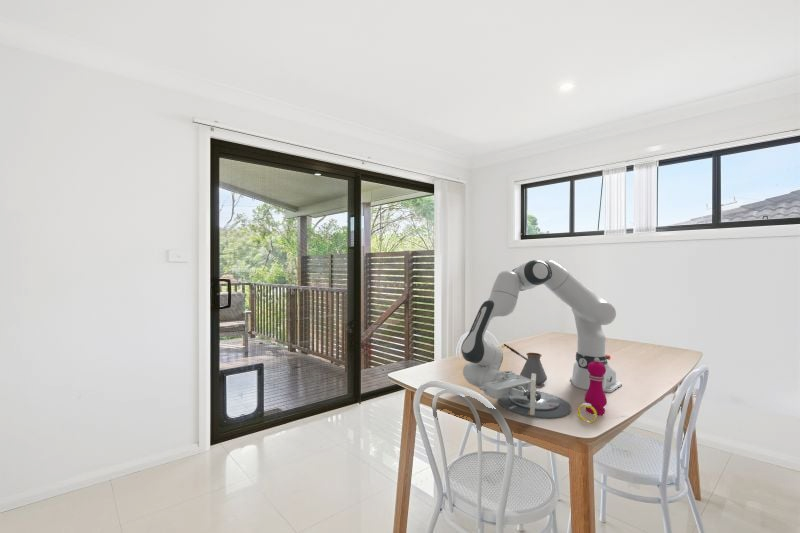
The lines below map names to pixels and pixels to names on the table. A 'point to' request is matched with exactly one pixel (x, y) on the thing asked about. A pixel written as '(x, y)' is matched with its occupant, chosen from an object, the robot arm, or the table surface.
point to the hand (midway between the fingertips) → (525, 393)
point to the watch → (588, 407)
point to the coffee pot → (532, 366)
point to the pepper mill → (596, 387)
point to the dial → (535, 399)
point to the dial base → (560, 412)
